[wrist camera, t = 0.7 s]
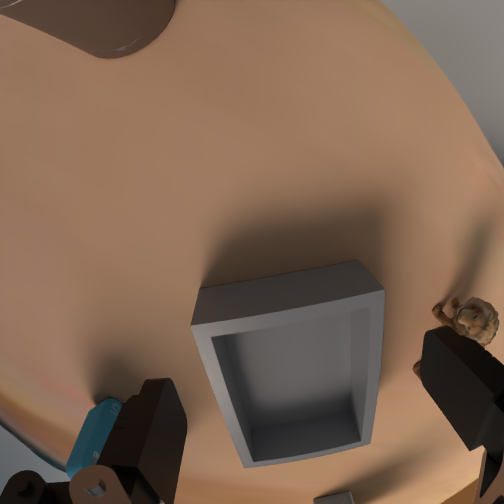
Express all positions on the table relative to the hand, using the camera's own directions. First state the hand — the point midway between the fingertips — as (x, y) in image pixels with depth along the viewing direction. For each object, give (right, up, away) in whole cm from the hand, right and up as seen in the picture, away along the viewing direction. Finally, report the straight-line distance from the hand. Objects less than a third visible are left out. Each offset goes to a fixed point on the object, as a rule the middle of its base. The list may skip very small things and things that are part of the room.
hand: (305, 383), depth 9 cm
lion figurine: (+19, -5, +22) cm, 30 cm away
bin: (+3, -7, +22) cm, 23 cm away
